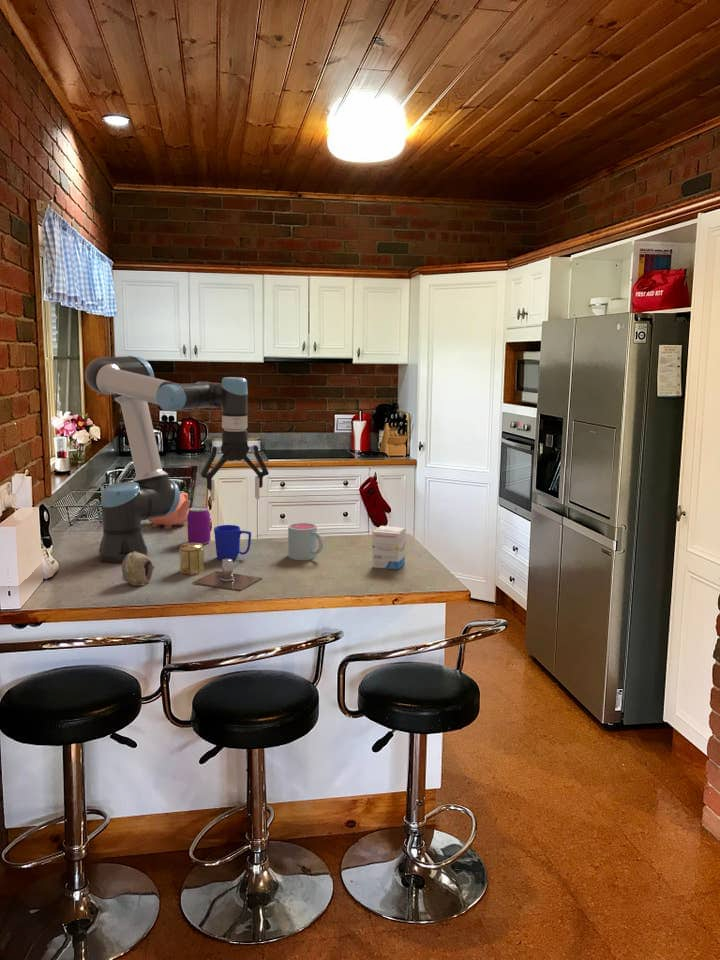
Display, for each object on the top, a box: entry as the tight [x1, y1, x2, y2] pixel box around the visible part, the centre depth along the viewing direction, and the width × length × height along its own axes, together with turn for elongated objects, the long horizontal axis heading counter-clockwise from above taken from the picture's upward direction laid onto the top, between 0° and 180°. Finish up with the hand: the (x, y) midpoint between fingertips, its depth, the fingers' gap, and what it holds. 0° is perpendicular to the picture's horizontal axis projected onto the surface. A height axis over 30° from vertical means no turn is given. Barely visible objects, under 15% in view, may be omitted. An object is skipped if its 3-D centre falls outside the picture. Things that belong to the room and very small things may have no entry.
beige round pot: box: [121, 551, 155, 586], centre depth 220 cm, size 9×8×10 cm
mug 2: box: [287, 522, 324, 561], centre depth 247 cm, size 14×9×10 cm
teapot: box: [147, 492, 191, 530], centre depth 287 cm, size 16×17×14 cm
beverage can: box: [186, 506, 211, 545], centre depth 264 cm, size 8×8×12 cm
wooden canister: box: [178, 542, 205, 575], centre depth 231 cm, size 7×9×8 cm
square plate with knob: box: [192, 559, 263, 592], centre depth 222 cm, size 16×12×6 cm
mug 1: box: [213, 524, 252, 561], centre depth 245 cm, size 8×12×10 cm
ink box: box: [371, 525, 406, 571], centre depth 240 cm, size 9×8×12 cm
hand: (235, 499), depth 233 cm, fingers open, 13 cm apart
